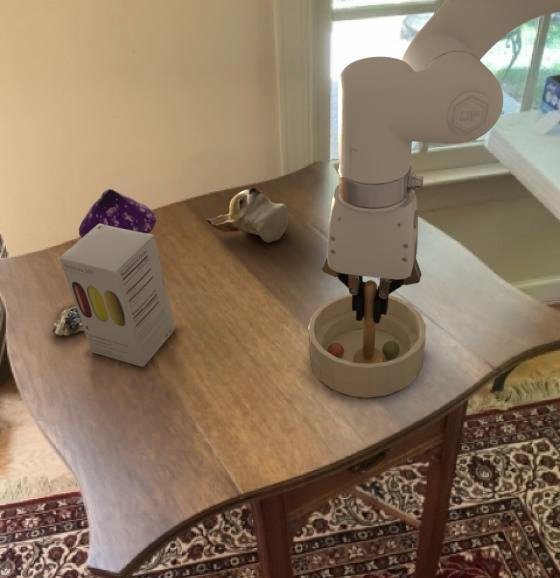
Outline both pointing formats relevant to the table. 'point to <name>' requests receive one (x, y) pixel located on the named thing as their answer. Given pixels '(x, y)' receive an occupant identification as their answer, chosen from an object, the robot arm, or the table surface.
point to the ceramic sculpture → (254, 216)
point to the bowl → (349, 333)
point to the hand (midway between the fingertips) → (369, 314)
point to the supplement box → (119, 293)
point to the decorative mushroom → (118, 214)
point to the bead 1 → (336, 350)
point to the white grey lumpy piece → (68, 322)
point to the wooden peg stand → (368, 328)
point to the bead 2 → (390, 349)
